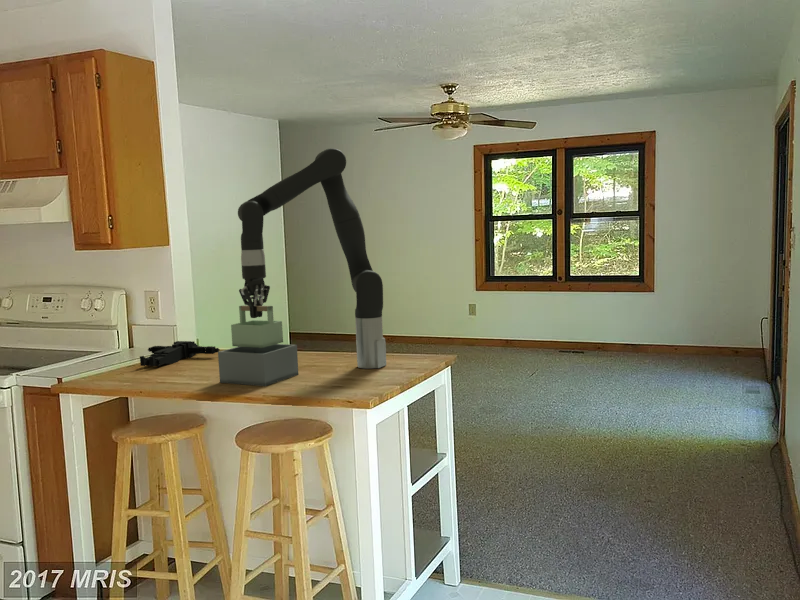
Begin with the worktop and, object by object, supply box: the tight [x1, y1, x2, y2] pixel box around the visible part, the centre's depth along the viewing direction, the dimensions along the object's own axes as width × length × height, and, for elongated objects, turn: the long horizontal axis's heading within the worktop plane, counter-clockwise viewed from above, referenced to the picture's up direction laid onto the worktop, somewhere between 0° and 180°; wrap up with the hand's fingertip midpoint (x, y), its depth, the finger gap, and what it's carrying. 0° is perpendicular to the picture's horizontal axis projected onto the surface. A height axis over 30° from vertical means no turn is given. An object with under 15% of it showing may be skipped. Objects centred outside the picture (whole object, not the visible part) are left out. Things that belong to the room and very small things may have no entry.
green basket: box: [230, 304, 284, 348], centre depth 232 cm, size 12×11×12 cm
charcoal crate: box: [217, 343, 299, 387], centre depth 234 cm, size 18×18×10 cm
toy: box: [139, 340, 221, 367], centre depth 272 cm, size 31×6×30 cm
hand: (256, 317), depth 232 cm, fingers closed on green basket
